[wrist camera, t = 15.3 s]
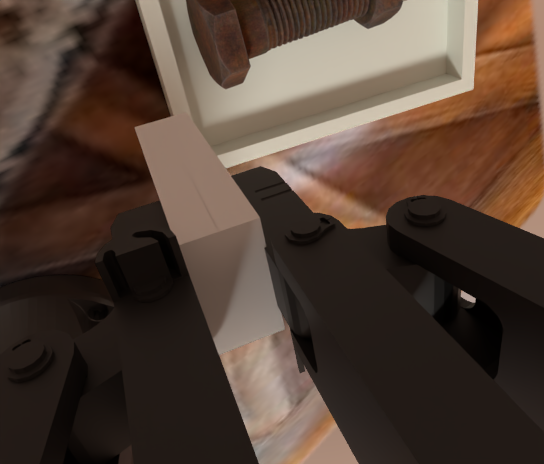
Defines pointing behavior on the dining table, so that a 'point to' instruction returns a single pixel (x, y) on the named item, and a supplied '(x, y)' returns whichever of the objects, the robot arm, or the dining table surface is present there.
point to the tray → (314, 76)
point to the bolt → (269, 27)
